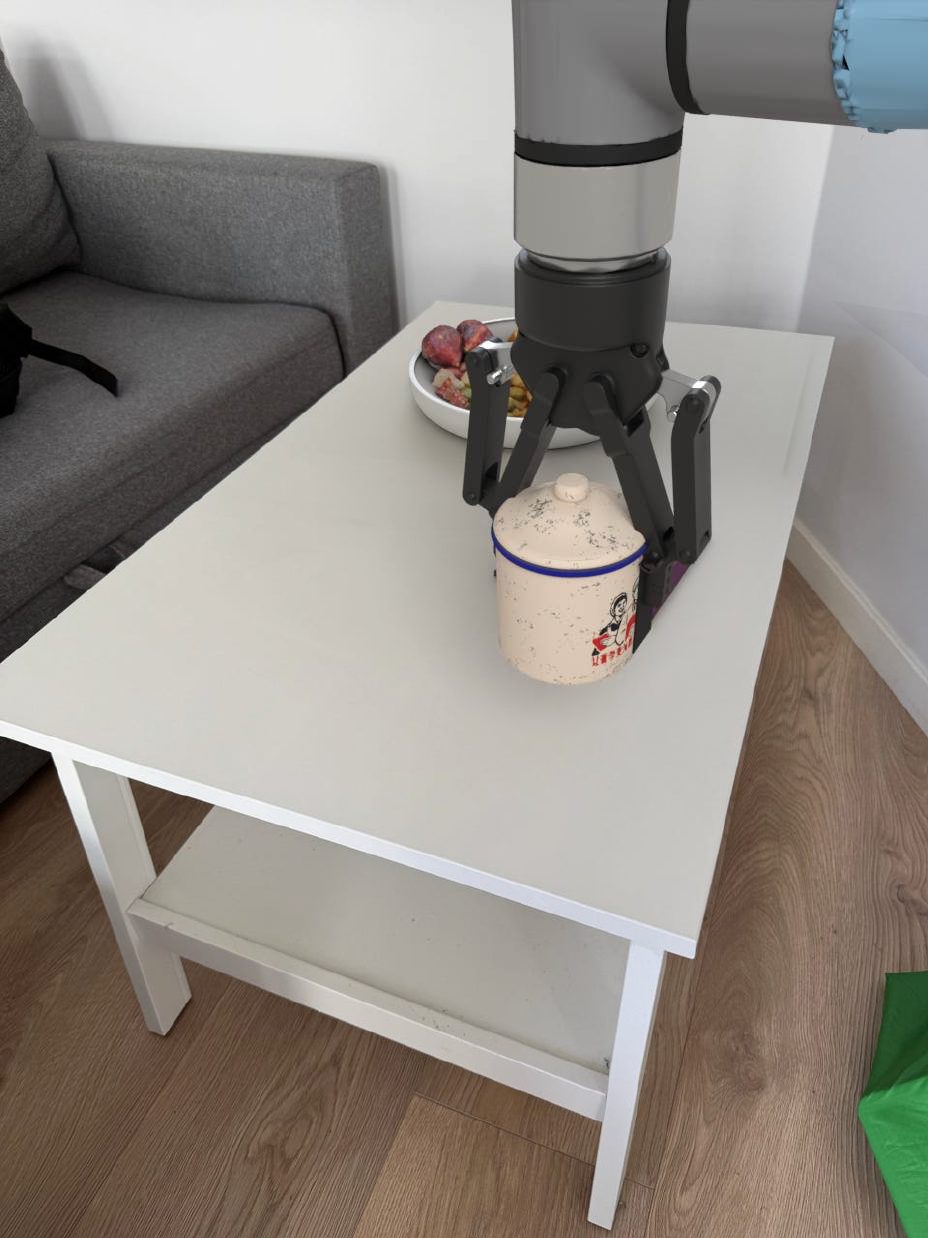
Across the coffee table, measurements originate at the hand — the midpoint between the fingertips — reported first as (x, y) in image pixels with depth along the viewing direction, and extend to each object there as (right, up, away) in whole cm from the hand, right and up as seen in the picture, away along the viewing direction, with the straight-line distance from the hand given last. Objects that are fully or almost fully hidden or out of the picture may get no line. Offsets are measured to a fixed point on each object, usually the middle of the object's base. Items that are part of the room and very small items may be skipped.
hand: (577, 619), depth 58 cm
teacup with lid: (0, -1, +1) cm, 1 cm away
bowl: (+1, +26, +53) cm, 59 cm away
